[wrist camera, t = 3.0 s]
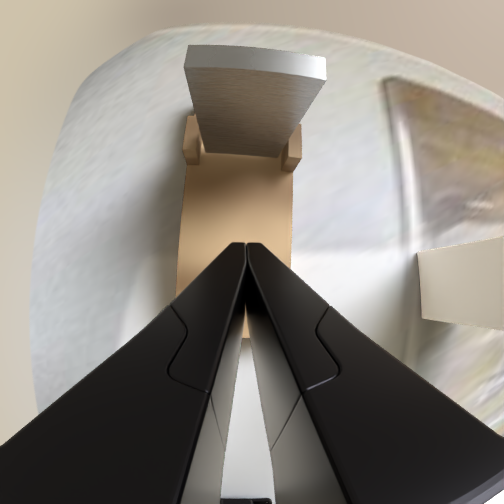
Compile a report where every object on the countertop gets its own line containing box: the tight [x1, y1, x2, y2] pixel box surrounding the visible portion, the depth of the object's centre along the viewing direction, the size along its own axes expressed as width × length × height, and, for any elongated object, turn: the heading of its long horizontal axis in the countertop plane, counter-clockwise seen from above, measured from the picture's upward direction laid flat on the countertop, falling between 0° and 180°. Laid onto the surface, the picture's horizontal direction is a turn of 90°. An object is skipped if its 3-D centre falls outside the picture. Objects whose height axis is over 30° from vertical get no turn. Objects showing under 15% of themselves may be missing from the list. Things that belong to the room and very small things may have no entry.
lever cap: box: [184, 45, 326, 158], centre depth 13 cm, size 2×5×10 cm, turn 87°
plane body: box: [176, 115, 302, 338], centre depth 18 cm, size 18×7×5 cm, turn 177°
